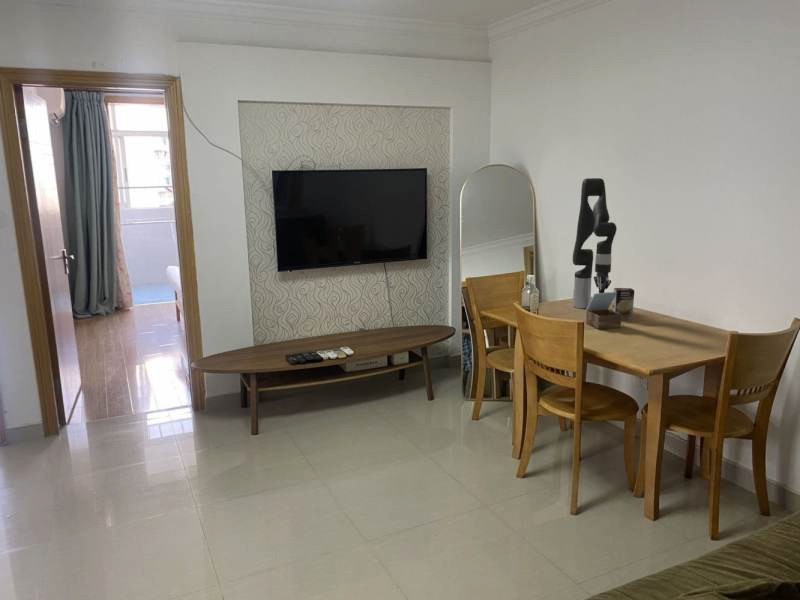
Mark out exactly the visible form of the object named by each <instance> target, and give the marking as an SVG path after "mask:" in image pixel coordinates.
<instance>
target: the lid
mask: <svg viewBox="0 0 800 600" xmlns="http://www.w3.org/2000/svg"><path fill="white" fill-rule="evenodd" d="M616 294H617V293H616V292H614V291H612V292H609V291H607V292H604V293H599V292H597V293H593V296H592V297H591V299H590V303H589V305H588V307H587V308H585V310H586V312H587V311H594V310H607V309H608V310H609V308H610V306H611V305H612V304H613V299H614V298H615V296H616Z"/></svg>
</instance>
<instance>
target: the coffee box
mask: <svg viewBox="0 0 800 600" xmlns="http://www.w3.org/2000/svg"><path fill="white" fill-rule="evenodd" d="M613 292H616V293H617V294H616V296H615V298H614V299H613V301H612V307H611V311H613V312H616V313H618V314H621V321H633V315H634V303H635V302H634V301H635V298H634V297H635V289H633V288H630V287H629V288H628V287H614V288H613Z"/></svg>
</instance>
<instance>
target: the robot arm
mask: <svg viewBox="0 0 800 600" xmlns="http://www.w3.org/2000/svg"><path fill="white" fill-rule="evenodd" d="M580 193H581V194H580V196H581V197H580V206H579V213H578V220H577V228H576V238H575V242H574V243H575V244H574V247H573V251H572V252H573V253H572V264H573V265H574V266H584V267H583V268H582V269H579V270H577V271H575V272H574V284H573V294H572V295H573V296H572V297H573V298H572V299H573V301H572V306H573V307H574V308H576V309H587V307H588V305H589V303H590V301H591V299H592V297H591V296H592V295H591V294H592V278H593V280H594V283H595V287H596V288H597V289H598V293H605V290H608V288H609V287H610V286H611V283H612V280H610V279H609V277H610V276H609V273H611V272H612V248H613V247H612V246H613V242H614V239H615V236H616V233H617V225H616V223H615V222H611V221H610V218H611V217H610V214H609V210H608V205H607V193H606V183H605V181H604V179H603V178H600V177H595V178H594V177H593V178H592V177H591V178H589V177H588V178H584V179H582V183H581V192H580ZM589 197H598V199H597V201H596V202H595V203H594V205H593V208H592V207H591V205H590V203H589ZM593 233H594V235H595V237H599V238H604V237H606V239H605V240H601V241H598V242H597V243H596V249H595V250H596V254H595V258H594V251H593V249H591V248H583V245H584V244H585V242H586V241H587V240H588V239H589V238H590V237H591V236H592V235H593ZM594 259H595V262H594ZM593 264H594V265H593ZM593 266H594V272H595V273H596V276H593V275H592V274H593ZM592 276H593V277H592Z"/></svg>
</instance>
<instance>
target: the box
mask: <svg viewBox="0 0 800 600" xmlns="http://www.w3.org/2000/svg"><path fill="white" fill-rule="evenodd" d="M585 325H587V326H589V325H590V327H591V326H592V327H591V328H593V327H594V329H596V330H598V331H600V330H604V331H605V330H614V329H621V327H622V320H621V314H618V313H616V312H613V311H612V309H609V308H608V309H602V310H589V311H587V310H586V318H585Z"/></svg>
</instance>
